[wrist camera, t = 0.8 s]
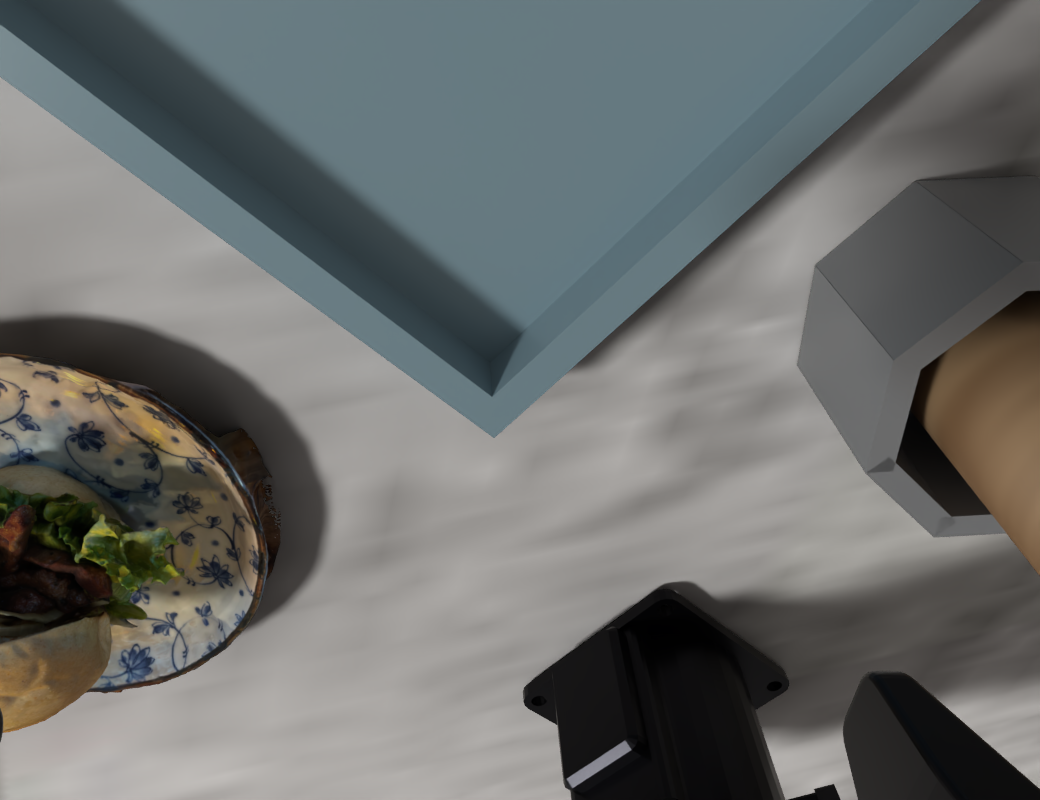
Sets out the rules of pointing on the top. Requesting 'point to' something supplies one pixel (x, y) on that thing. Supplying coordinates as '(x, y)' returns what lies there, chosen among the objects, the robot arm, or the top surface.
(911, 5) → the tray
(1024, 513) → the peg
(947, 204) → the cup
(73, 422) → the burger
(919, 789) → the robot arm
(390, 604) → the top surface
